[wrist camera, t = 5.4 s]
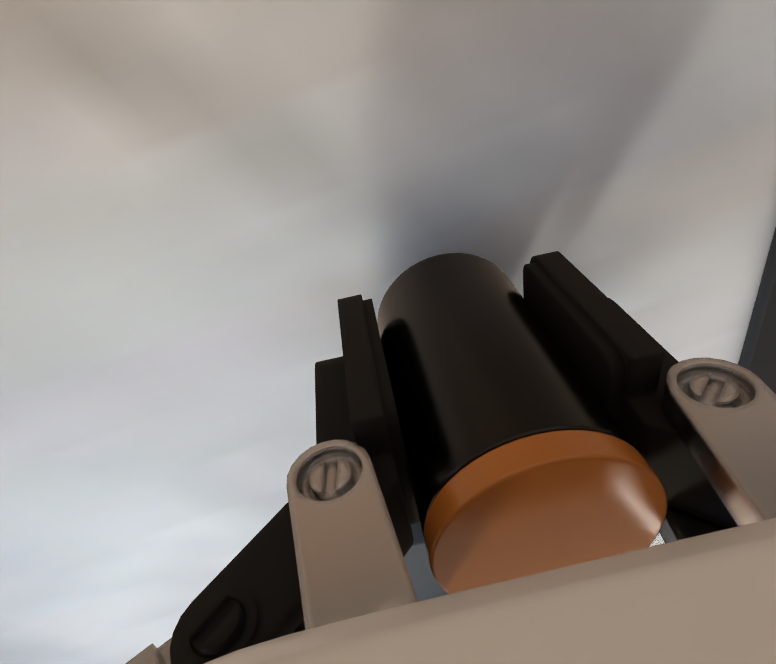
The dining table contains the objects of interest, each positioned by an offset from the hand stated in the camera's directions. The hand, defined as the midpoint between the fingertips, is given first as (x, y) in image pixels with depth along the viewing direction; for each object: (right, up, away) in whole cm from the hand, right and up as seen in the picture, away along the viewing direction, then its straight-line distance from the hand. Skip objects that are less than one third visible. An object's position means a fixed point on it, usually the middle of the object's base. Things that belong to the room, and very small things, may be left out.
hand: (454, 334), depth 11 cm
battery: (0, 0, +1) cm, 1 cm away
